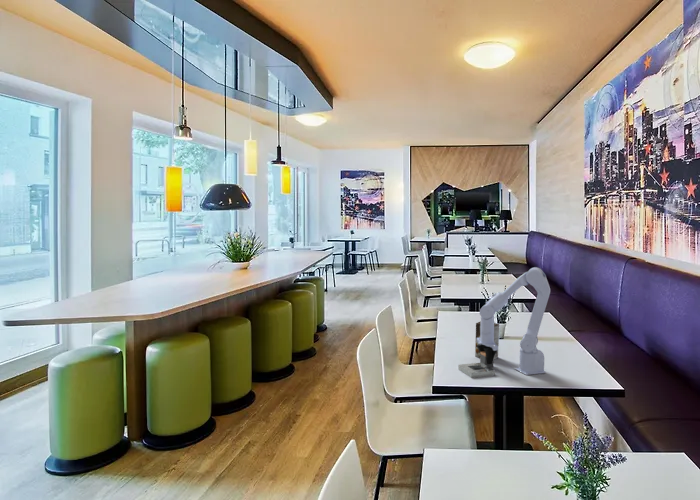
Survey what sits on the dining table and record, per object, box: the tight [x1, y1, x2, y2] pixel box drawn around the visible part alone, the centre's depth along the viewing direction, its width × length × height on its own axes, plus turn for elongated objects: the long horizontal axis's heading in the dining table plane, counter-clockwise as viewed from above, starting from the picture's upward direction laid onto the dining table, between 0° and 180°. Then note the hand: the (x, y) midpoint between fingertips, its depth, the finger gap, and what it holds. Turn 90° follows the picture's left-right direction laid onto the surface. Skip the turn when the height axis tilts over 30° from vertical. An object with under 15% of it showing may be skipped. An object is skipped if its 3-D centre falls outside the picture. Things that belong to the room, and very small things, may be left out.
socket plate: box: [458, 362, 496, 379], centre depth 203 cm, size 11×11×2 cm
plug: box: [479, 351, 494, 368], centre depth 211 cm, size 4×4×6 cm
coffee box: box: [474, 320, 500, 361], centre depth 223 cm, size 9×6×16 cm
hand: (486, 362), depth 211 cm, fingers closed on plug, 4 cm apart
